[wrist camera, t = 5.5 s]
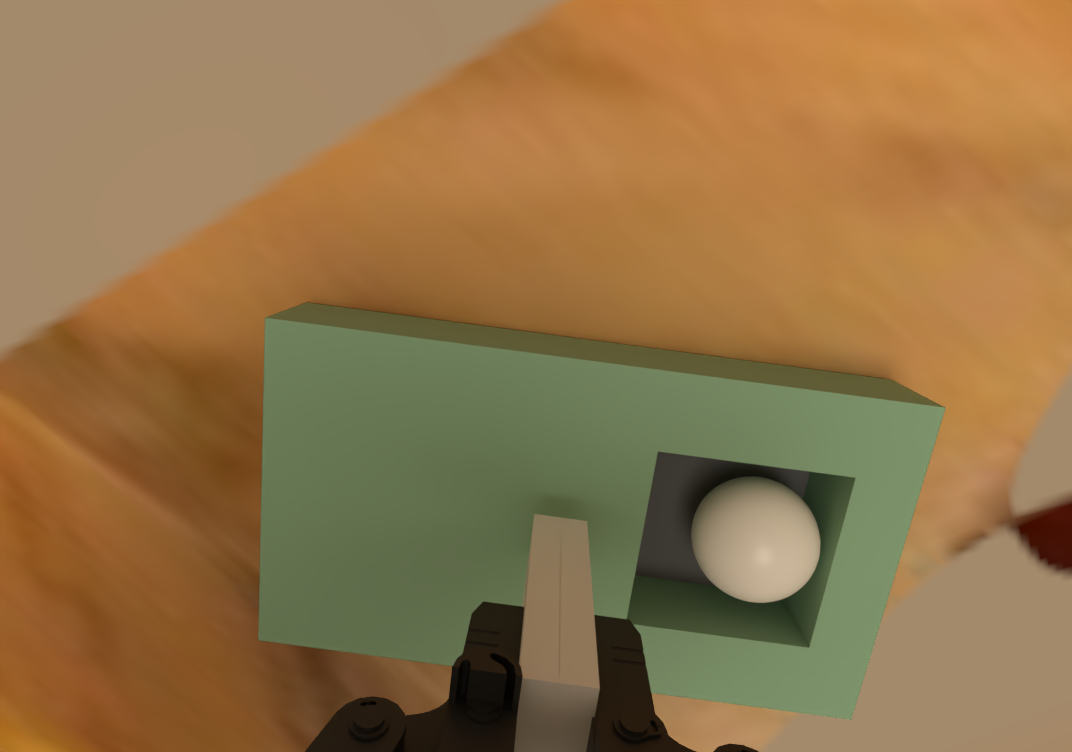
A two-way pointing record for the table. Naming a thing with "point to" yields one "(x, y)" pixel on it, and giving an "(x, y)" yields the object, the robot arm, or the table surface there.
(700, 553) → the ball
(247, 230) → the table surface
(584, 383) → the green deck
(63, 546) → the table surface
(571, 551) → the robot arm
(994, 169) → the table surface
